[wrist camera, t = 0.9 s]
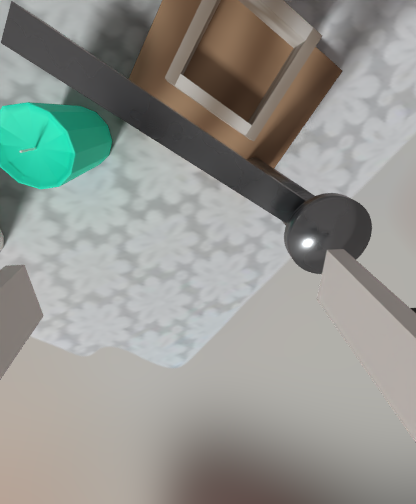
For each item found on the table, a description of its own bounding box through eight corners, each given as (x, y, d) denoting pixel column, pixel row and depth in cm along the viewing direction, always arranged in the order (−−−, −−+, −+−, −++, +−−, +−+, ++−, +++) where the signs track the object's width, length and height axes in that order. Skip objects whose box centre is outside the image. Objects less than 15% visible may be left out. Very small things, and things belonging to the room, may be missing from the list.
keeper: (107, 97, 26) (-41, 68, 10) (125, 54, 25) (-13, -67, 8) (257, 193, 31) (331, 285, 15) (279, 162, 30) (389, 224, 13)
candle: (122, 131, 29) (82, 141, 19) (96, 177, 31) (46, 211, 21) (68, 92, 27) (-12, 78, 17) (44, 144, 29) (-41, 161, 19)
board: (116, 113, 28) (105, 113, 25) (190, -57, 23) (190, -90, 19) (249, 197, 33) (256, 208, 29) (336, 72, 28) (359, 65, 24)
